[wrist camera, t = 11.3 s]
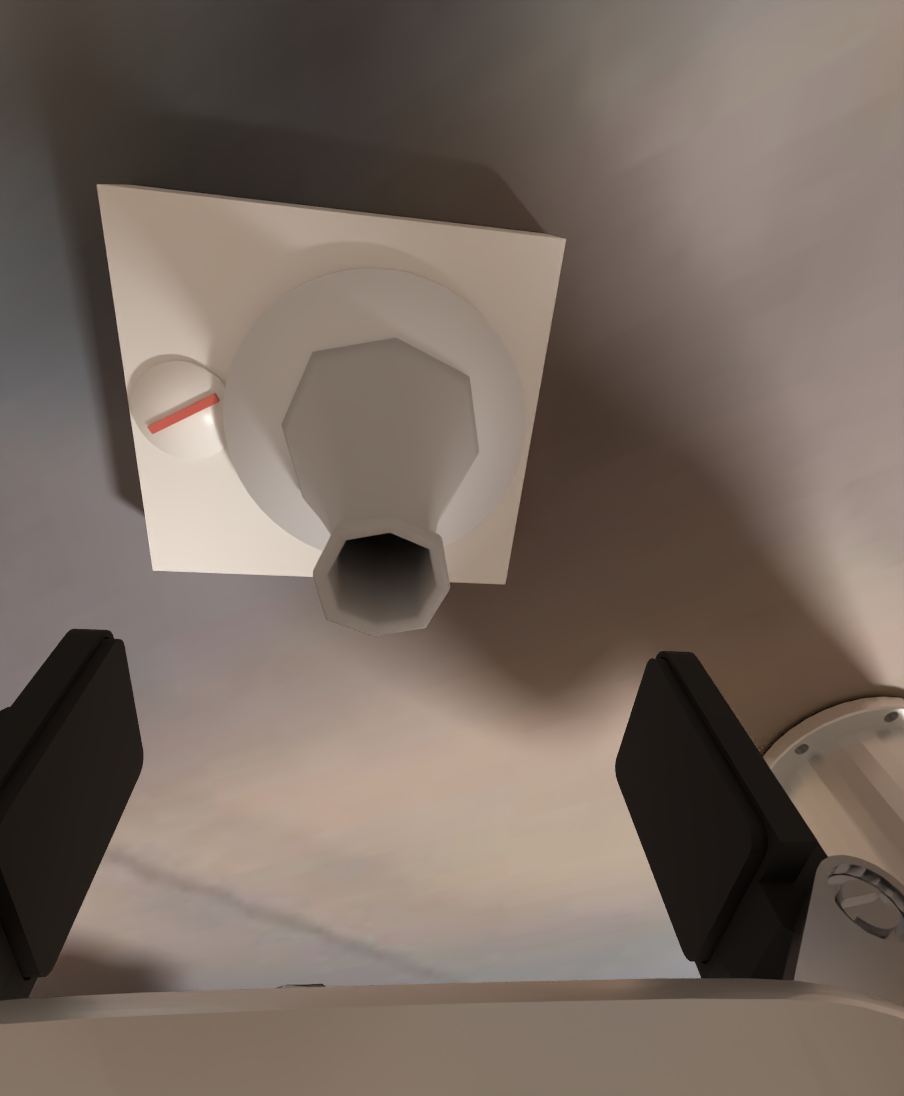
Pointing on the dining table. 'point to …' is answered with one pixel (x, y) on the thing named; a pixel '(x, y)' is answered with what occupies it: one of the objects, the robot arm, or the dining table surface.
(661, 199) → the dining table surface
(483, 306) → the kitchen scale
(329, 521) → the flask
